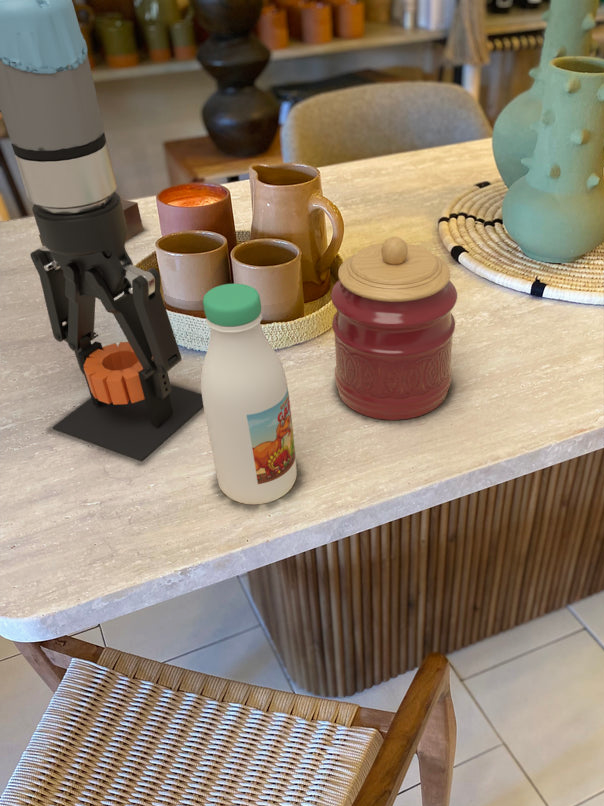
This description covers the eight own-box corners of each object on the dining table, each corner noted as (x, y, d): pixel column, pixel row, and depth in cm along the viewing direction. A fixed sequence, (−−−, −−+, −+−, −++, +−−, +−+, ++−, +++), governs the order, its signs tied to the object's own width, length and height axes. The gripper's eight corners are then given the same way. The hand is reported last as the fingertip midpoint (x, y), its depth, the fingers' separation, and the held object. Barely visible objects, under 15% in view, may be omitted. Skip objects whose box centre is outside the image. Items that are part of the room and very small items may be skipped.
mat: (53, 430, 82) (52, 427, 81) (127, 373, 89) (127, 370, 89) (142, 462, 78) (141, 459, 77) (212, 400, 85) (211, 397, 85)
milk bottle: (231, 516, 72) (195, 327, 58) (209, 467, 77) (172, 283, 63) (308, 493, 74) (292, 306, 60) (282, 447, 79) (261, 265, 65)
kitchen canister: (449, 358, 91) (460, 212, 79) (450, 425, 82) (462, 270, 70) (341, 355, 92) (335, 209, 80) (329, 421, 82) (320, 267, 70)
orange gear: (76, 393, 80) (68, 369, 78) (123, 359, 84) (116, 335, 82) (131, 412, 77) (124, 387, 75) (175, 375, 82) (170, 351, 80)
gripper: (194, 201, 66) (230, 415, 82) (22, 165, 73) (86, 368, 89) (137, 235, 61) (187, 455, 77) (-41, 192, 68) (38, 403, 84)
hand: (133, 408), depth 83 cm, fingers closed on orange gear, 7 cm apart
